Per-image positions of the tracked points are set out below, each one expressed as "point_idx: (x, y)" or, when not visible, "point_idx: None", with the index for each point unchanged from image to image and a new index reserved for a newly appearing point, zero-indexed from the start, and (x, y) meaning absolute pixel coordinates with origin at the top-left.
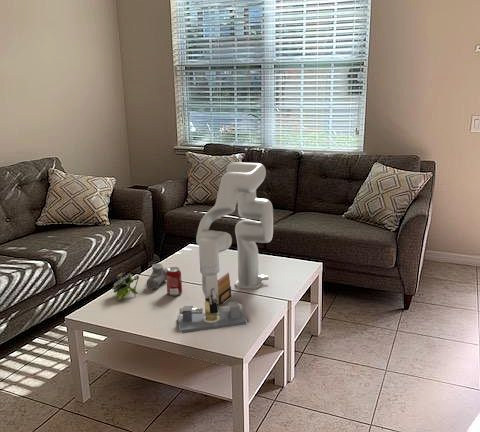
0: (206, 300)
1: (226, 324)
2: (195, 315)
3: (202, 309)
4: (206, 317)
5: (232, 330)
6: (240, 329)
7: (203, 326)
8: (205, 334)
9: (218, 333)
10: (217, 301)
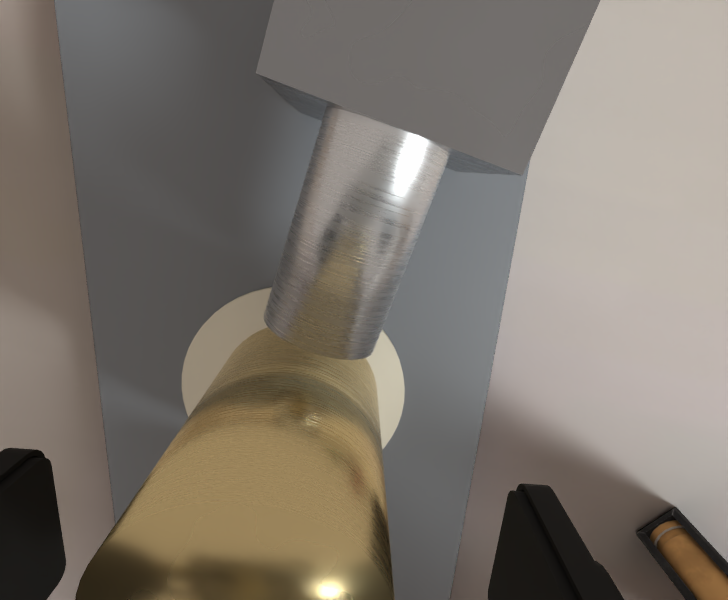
0: (524, 533)
1: (116, 502)
2: (472, 215)
3: (370, 348)
4: (258, 341)
5: (60, 508)
6: (68, 572)
7: (99, 242)
8: (9, 227)
9: (14, 371)
10: (695, 560)
